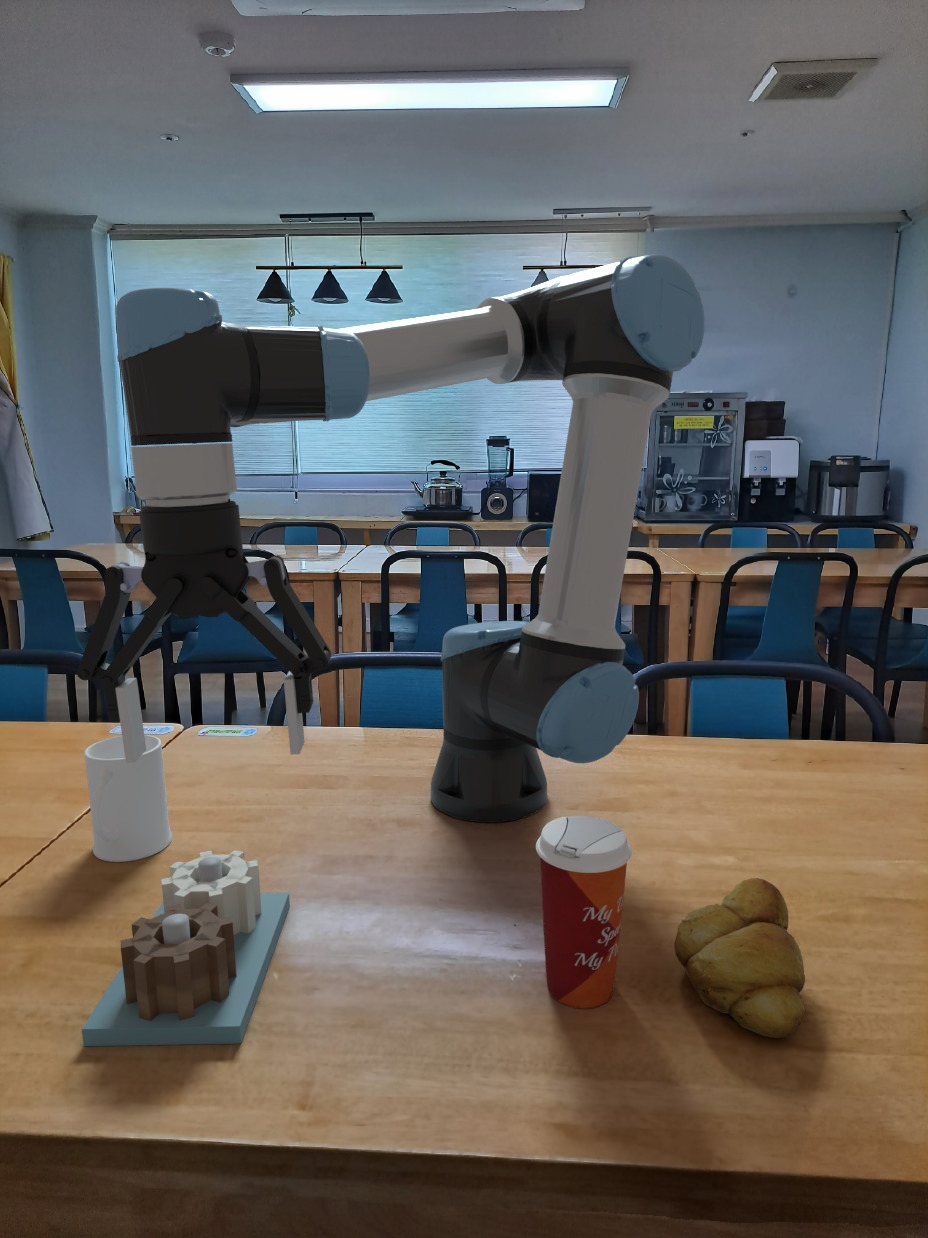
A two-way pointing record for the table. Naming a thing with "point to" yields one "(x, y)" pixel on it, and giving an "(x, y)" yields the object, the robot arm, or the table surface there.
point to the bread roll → (746, 959)
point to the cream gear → (217, 889)
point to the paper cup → (582, 906)
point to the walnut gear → (178, 963)
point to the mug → (127, 800)
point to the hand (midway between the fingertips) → (217, 752)
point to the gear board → (212, 1019)
